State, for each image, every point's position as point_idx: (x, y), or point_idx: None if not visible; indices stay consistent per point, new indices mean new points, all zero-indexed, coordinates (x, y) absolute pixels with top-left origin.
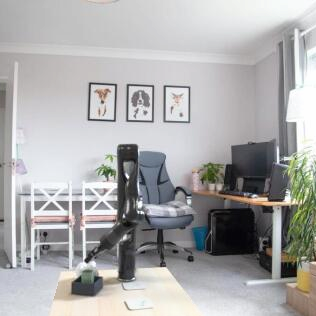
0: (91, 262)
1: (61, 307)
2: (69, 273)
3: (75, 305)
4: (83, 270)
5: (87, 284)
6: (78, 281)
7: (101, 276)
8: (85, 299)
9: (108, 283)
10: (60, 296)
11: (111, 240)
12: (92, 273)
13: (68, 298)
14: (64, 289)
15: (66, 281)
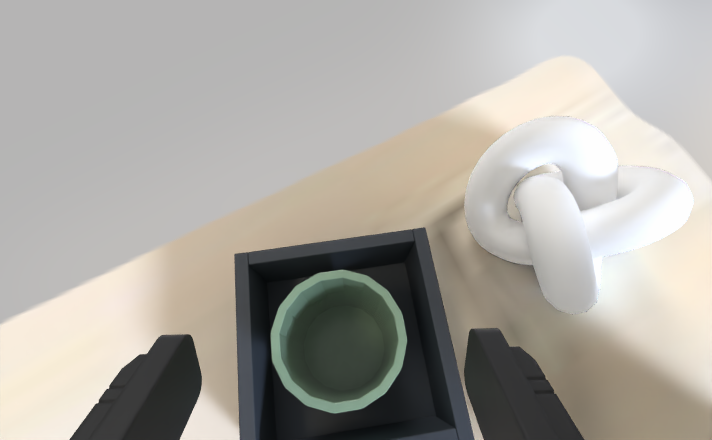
0: (650, 194)
1: (42, 338)
2: (565, 81)
3: (82, 410)
4: (346, 278)
5: (239, 402)
6: (346, 258)
7: (469, 428)
8: (196, 421)
9: None
10: (208, 235)
11: None
12: (323, 409)
13: (188, 298)
14: (318, 195)
15: (440, 136)
